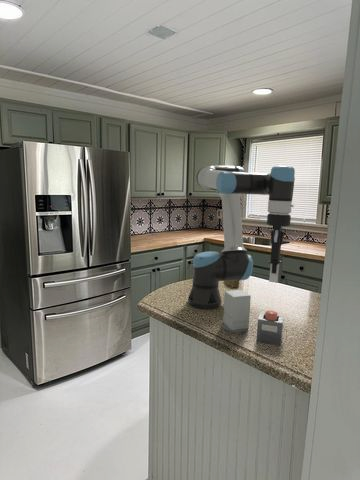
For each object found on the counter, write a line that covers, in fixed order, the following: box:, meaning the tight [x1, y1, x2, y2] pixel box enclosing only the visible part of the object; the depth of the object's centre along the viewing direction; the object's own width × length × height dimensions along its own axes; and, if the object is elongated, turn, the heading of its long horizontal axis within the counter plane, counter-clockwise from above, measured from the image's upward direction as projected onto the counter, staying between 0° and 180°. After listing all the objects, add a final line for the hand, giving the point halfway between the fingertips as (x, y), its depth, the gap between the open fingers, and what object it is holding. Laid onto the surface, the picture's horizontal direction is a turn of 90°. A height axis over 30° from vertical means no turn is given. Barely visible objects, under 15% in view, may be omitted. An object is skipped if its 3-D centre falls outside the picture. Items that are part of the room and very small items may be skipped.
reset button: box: [264, 310, 279, 321], centre depth 111 cm, size 4×4×7 cm
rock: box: [222, 281, 240, 289], centre depth 174 cm, size 11×9×10 cm
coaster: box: [221, 321, 249, 335], centre depth 121 cm, size 10×10×1 cm
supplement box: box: [222, 289, 252, 330], centre depth 120 cm, size 7×7×13 cm
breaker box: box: [256, 311, 285, 346], centre depth 112 cm, size 8×7×8 cm
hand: (273, 281), depth 111 cm, fingers closed
